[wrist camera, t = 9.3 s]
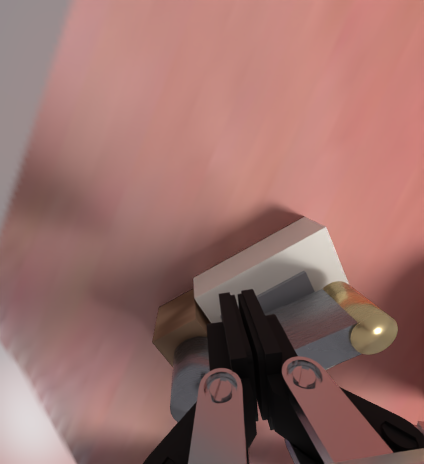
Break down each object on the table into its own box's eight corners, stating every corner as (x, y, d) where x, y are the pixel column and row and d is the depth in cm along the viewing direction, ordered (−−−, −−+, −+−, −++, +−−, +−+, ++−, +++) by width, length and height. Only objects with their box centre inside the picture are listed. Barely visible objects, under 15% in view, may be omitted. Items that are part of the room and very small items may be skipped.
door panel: (304, 216, 22) (328, 227, 18) (349, 322, 26) (376, 348, 22) (193, 278, 22) (194, 300, 19) (255, 370, 27) (265, 403, 23)
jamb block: (193, 288, 23) (195, 318, 18) (222, 330, 25) (230, 367, 20) (158, 307, 23) (152, 342, 19) (189, 348, 25) (190, 388, 20)
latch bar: (186, 382, 20) (186, 439, 16) (164, 348, 18) (158, 401, 14) (357, 309, 19) (402, 348, 15) (346, 270, 18) (392, 301, 14)
